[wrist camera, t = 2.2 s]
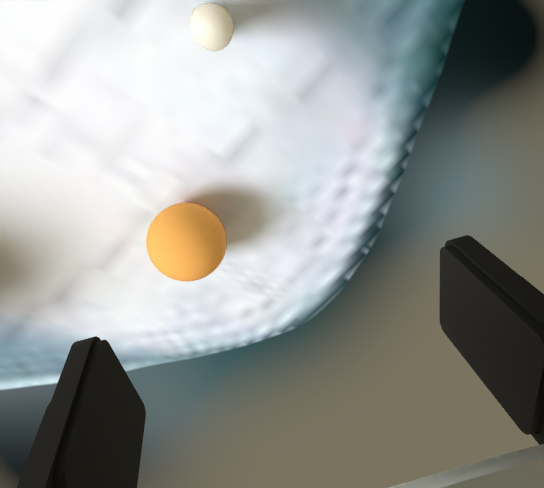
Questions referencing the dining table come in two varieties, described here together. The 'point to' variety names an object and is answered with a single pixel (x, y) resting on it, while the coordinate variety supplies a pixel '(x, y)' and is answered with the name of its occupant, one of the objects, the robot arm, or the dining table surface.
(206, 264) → the ball
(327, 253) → the dining table surface
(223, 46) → the pin
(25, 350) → the dining table surface
